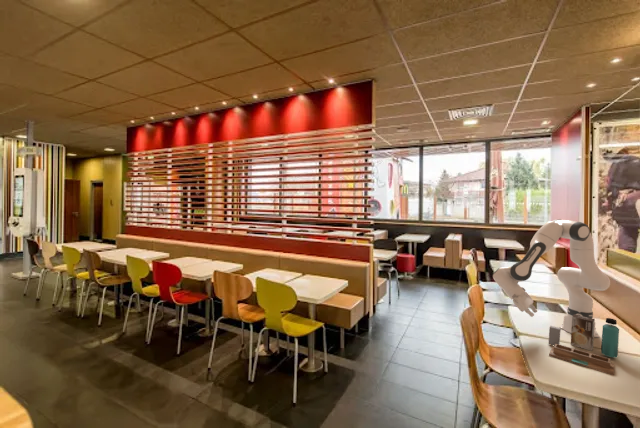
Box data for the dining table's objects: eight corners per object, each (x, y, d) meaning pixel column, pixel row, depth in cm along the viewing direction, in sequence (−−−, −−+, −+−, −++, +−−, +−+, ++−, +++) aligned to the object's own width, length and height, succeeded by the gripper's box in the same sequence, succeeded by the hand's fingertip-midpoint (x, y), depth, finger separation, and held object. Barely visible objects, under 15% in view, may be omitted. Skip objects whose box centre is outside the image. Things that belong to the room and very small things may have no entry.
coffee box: (593, 347, 169) (595, 318, 168) (591, 351, 165) (593, 321, 164) (572, 341, 176) (574, 313, 175) (569, 344, 171) (571, 316, 171)
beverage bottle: (621, 361, 154) (624, 322, 153) (605, 359, 156) (608, 320, 155) (611, 355, 161) (614, 317, 160) (596, 353, 162) (599, 316, 161)
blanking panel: (549, 343, 172) (550, 325, 172) (559, 346, 169) (560, 328, 169) (548, 344, 170) (549, 327, 170) (558, 347, 167) (559, 329, 167)
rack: (552, 348, 166) (553, 340, 166) (613, 365, 150) (614, 357, 149) (548, 356, 157) (549, 348, 157) (613, 375, 140) (614, 367, 140)
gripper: (516, 293, 173) (536, 315, 167) (524, 287, 188) (542, 307, 182) (506, 299, 177) (525, 321, 170) (515, 292, 191) (533, 312, 185)
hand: (534, 314), depth 176 cm, fingers open, 8 cm apart
